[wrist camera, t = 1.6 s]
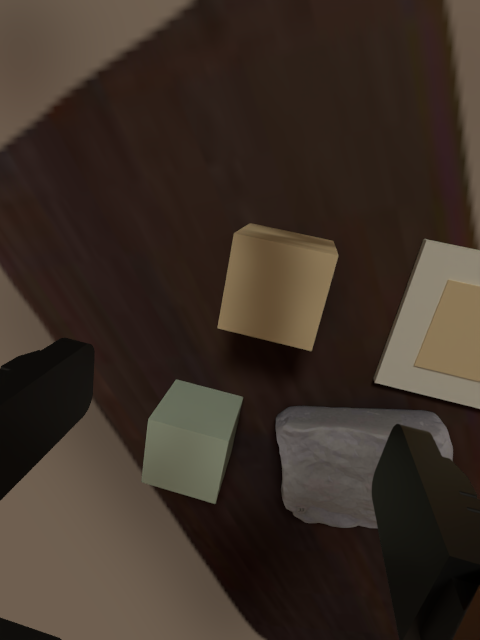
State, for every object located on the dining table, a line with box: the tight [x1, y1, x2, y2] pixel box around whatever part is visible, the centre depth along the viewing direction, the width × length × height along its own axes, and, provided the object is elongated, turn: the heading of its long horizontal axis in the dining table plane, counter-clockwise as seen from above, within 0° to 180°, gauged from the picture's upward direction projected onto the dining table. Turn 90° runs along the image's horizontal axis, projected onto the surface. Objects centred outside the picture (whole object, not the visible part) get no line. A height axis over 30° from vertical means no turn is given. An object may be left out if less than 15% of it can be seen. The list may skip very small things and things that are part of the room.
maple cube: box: [218, 223, 338, 351], centre depth 23 cm, size 6×6×6 cm
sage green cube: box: [142, 380, 243, 504], centre depth 28 cm, size 6×6×6 cm
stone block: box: [275, 406, 453, 528], centre depth 28 cm, size 12×5×10 cm
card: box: [373, 239, 480, 409], centre depth 24 cm, size 10×10×1 cm
